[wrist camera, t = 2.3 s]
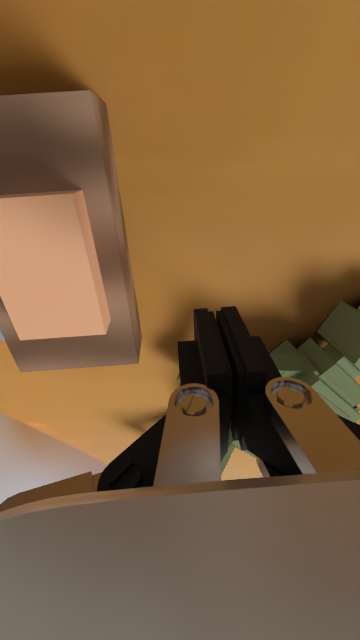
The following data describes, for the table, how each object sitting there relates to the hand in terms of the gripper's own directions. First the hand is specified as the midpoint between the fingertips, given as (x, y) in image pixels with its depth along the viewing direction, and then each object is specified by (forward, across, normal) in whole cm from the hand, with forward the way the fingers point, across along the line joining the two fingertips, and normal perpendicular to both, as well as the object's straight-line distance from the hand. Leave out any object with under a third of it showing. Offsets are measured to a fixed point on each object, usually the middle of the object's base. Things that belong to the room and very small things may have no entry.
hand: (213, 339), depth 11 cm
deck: (+13, +10, -1) cm, 16 cm away
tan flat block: (+9, +10, -1) cm, 13 cm away
